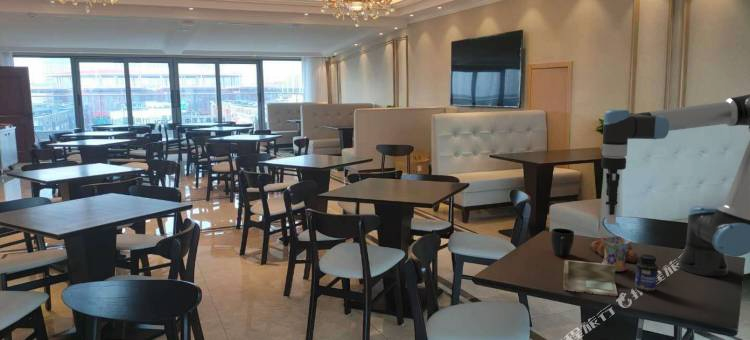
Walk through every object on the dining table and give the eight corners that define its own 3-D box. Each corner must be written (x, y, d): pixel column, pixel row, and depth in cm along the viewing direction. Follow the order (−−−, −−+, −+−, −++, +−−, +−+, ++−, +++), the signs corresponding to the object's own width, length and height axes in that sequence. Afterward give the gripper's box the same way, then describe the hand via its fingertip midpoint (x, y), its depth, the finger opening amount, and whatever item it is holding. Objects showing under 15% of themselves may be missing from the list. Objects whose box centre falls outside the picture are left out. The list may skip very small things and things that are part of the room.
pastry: (588, 258, 205) (590, 238, 204) (589, 247, 219) (590, 228, 218) (637, 264, 198) (639, 243, 197) (635, 252, 212) (636, 233, 211)
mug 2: (629, 274, 187) (631, 245, 185) (600, 271, 190) (602, 242, 188) (626, 264, 198) (628, 236, 196) (599, 261, 201) (600, 234, 199)
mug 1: (549, 259, 203) (550, 235, 202) (550, 250, 214) (552, 227, 213) (572, 261, 200) (573, 237, 199) (572, 252, 211) (574, 229, 210)
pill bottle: (639, 292, 171) (642, 259, 169) (631, 285, 177) (633, 253, 175) (659, 292, 170) (662, 259, 169) (650, 285, 176) (653, 253, 175)
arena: (613, 281, 180) (615, 264, 179) (617, 296, 167) (618, 278, 166) (563, 275, 185) (564, 259, 184) (563, 290, 172) (564, 272, 171)
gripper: (600, 151, 189) (597, 210, 193) (602, 161, 166) (598, 227, 170) (624, 152, 187) (620, 212, 190) (629, 162, 164) (624, 229, 167)
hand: (610, 219), depth 180 cm, fingers open, 13 cm apart
